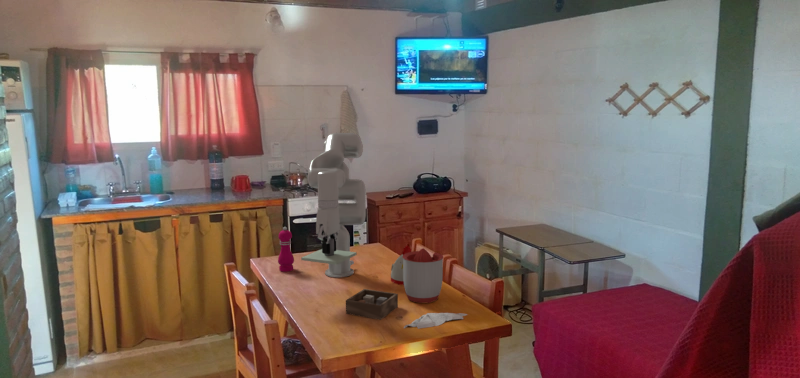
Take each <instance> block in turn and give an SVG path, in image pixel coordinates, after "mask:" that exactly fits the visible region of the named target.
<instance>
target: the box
mask: <svg viewBox="0 0 800 378" xmlns="http://www.w3.org/2000/svg"><path fill="white" fill-rule="evenodd" d="M398 298H399V295H398V293H393V292H387V291H380V290H375V289H369V288H363V289H362V290H360V291H358V292H357V293H355V294H353V295H352V296H351V297H348V299H345V315H349V316H350V315H352V316H357V317H361V318H362V317H363V318H367V319H368V318H369V319H373V320H379V321H381V320H383V319H384V318H385V317H387V316H388V315H389V314H390V313H391V312H393V311H394V310H396V309H397V308H398V307H399V305H398V303H399V301H398Z"/></svg>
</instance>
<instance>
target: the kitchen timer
mask: <svg viewBox="0 0 800 378" xmlns="http://www.w3.org/2000/svg"><path fill="white" fill-rule="evenodd" d="M402 250H403V251H401V255H399V256H398V257H397V259H396V260H395V261H394V263H392V264H391V269H390V270H391V272H390V282H392V283H393V284H395V285H399V286H400V285H401V286H404V280H403V255H404V254H406V253H409V252H412V249H411V247H410V246H409V245H405V246H404V247H403V249H402Z"/></svg>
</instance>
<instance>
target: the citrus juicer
mask: <svg viewBox="0 0 800 378" xmlns="http://www.w3.org/2000/svg"><path fill="white" fill-rule="evenodd" d="M443 259H444V255H443V254H441V253H439V252H434V253H433V254H432V256H431V254H430V253H429V252H428V250H427V249H425V248H424V247H423V248H421V249H420V250H417V251H411V252H409V253H406V254H404V255H403V280H404V285H403V286H404V291H405V294H406V297H407V298H408V300H409V301H411V302H414V303H417V304H418V303H423V304H425V303H426V304H430V303H433V302H436V301H437V300H438V299H439V297H440V294H441V290H442V288H443V287H442V286H443V278H444V277H443V269H444V267H443V264H444V263H443V262H444V260H443Z"/></svg>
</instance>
